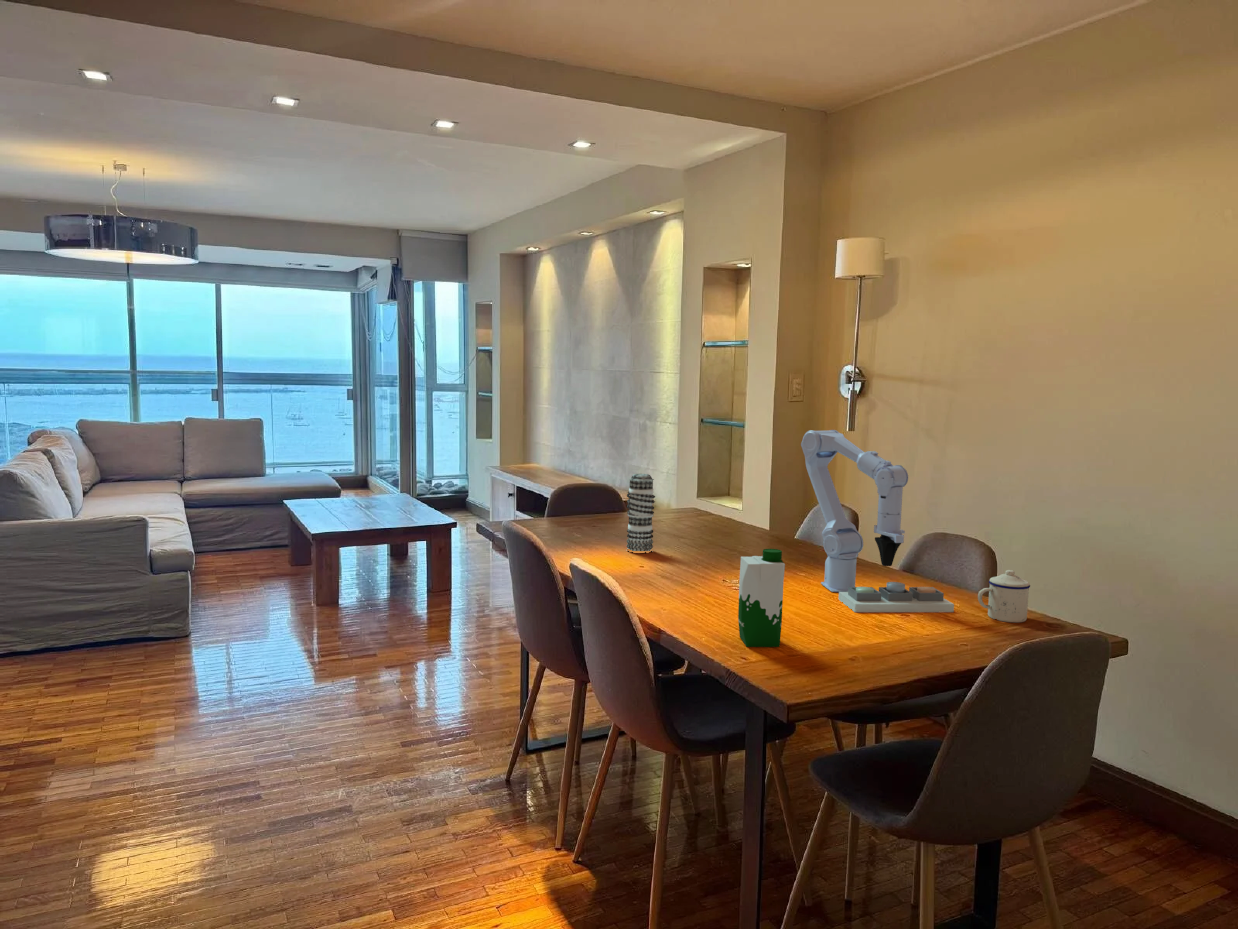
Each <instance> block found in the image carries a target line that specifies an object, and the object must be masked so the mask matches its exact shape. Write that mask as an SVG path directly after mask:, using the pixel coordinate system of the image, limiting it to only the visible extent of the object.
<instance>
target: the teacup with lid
mask: <svg viewBox="0 0 1238 929" xmlns="http://www.w3.org/2000/svg"><path fill="white" fill-rule="evenodd" d="M988 583H989V587H984V588H982V589H981V590H979V591H978V594H977V600H978V602H979V605H980V606H981V607H982V608H985V609H987V615H988V617H989V618H991V619H992V620H995V619H997V620H996V621H1000V622H1005V623H1015V624H1016V623H1025V622H1026V621H1027V618H1028V607H1029V605H1028V604H1029V593H1030V592H1029V590H1030V588H1031V585H1030V582H1029V581H1028V580H1025V579H1023V578H1022V577H1020V576H1019V575H1017V574H1015V571H1014V570H1012V569H1007V570H1005V573H1002V574H999V575H998V576H992V577H990V578H989V581H988ZM985 593H988V604H985V602H983V596H984V594H985Z"/></svg>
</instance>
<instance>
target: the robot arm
mask: <svg viewBox="0 0 1238 929" xmlns="http://www.w3.org/2000/svg"><path fill="white" fill-rule="evenodd" d="M800 446H801V449H802V452H803V455H804V459H805V460H804V461H805V468H806V470H807V473H808V474H807V475H808V476H809V479H810V482H811V485H812V488H813V491H814V493H815V497H816V499H817V502H818V505H819V508H820V511H821V514H822V516H823V519H824V522H825V524H826V525H825V527H824V529H823V530H822V532H821V536H822V539H823V542H822V543H823V549H824V551H825V553H826V555H827V557H826V559H825V562H824V578H823V579H824V581H821V582H820V584H821V585H822V586H824V587H825V588H826V589H827V590H828V591H830V592H831V593H833V592H834V593H839V592H848V587H856V576H857V558H858V557H859V553H861V552H862V551H863V548H864V538H863V536H862V535H861V533H860V532H859V531H858V530H857V528H856V527H857V526H856V525H855V524H854V523H852V522H851V521H850V520H848V518H847V517H846V515H845V512H844V509H843V507H842V504H841V501H840V498H839V496H838V492H837V490H836V487H835V484H834V481H833V479H832V476H831V473H830V471H829V468H828V465H829V464H830V462H832V461H833V459H834V457H835V456H836V455H837V454H838V453H839V454H840V455H842V456H844V457H845V458H847V459H849V460H851V461H853V462H854V463H856V466H857V469H858V470H859V471H860V472H862V473H864V474H865V475H867V476H868V477H869V478H871V479H872V480H874V483H875V485H876V487H877V495H878V504H877V518H876V519H877V521H876V522H877V523H876V524H875V525H874V526H873V533H875V534H879V535H880V536H879V537H878V536H876V537H874V541H875V544H876V546H877V548H878V552H879V557H880V562H881V565H882V566H883V567H892V566H893V563H894V560H895V556H896V554H897V551H898V549H899V547H900V546H901V545H902V544H904V541H905V539H904V538H905V536H904V535H905V533H906V531H905V530H904V529H901V526H902V525H901V524H902V523H901V522H902V508H903V507H902V505H903V491H904V487H905V486H906V485H907V484H908V481H909V473H908V471H907V470H906V468H905V467H903V466H902V465H901V464H896V465H894V464H892V461H890V460H886V459H884V458H882V457H881V456H879V455H878V454H879V453H878V451H876V450H871V451H870V450H868V451H864V450H862V449H861V448H859V447H858V446H857V445H855V444H854V443H853V442H852V441H850V440H849V439H847V438H846V437H845V436H844V433H842V432H841V433H840V432H839V431H838V430H836V429H829V430H811V429H810V430H807V431H806V432H805V433H804V435H803V437H802V441H801V443H800Z"/></svg>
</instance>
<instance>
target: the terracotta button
mask: <svg viewBox="0 0 1238 929" xmlns="http://www.w3.org/2000/svg"><path fill="white" fill-rule="evenodd" d="M917 587H918V588H917V591H919V592H920V593H935V592H936V590H935V589H936V588H935V587H933V588H930V586H917ZM934 588H935V589H934Z"/></svg>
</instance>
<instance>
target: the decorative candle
mask: <svg viewBox="0 0 1238 929" xmlns="http://www.w3.org/2000/svg"><path fill="white" fill-rule="evenodd" d="M628 480H629V488H628V490H627V491H628V492H627V494H626V498H628V499H627V500H626V503H627V504H626V508H627V509H628V510H627V513H626V515H627V516H628V524H627V525H628V526H627V530H626V532H627V534H626V537H627V539H626V543H627V544H626V548H627V549H630V550H632V551H650V550H651V549H652V550H653V547H654V545H653V543H654V540H653V538H654V534H653V533H654V529H653V523H652V522H653V517H654V514H655V511H654V509H655V506H653V504H654V503H655V502H656V501H655V500H654V499H655V498H656V496H655V495H654V480H655V479H654V478H653V477H652V476H651V474H648V473H634V474H632V475H631V477H630V478H628Z"/></svg>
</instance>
